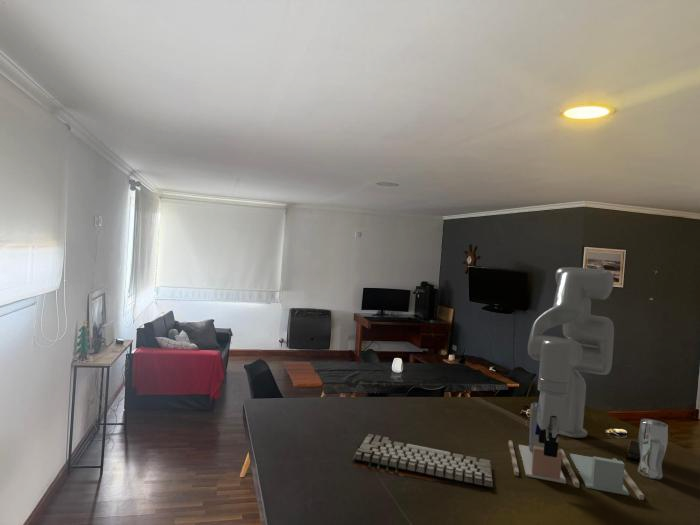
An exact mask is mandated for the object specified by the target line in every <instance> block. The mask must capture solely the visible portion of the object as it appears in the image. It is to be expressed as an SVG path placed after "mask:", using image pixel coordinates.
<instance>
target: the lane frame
mask: <svg viewBox="0 0 700 525" xmlns="http://www.w3.org/2000/svg"><path fill="white" fill-rule="evenodd" d="M508 448H509V449H508V450H509V453H511V454H510V458H512V459H511V463H512V464H511V465H512V467H513V468H512V469H513V473H514V476H515V477H519V476H520V471H519V470H520V469H519V465H518V463H517V462H518V461H517V457H516V452H515V449H514V444H513V440H512V439H511V440H510V439H509V440H508ZM558 450H560V451H561V452H562V459H563V460H562V463H563V464H564V466H566V467H565V469H566V468H567V469H566V471H567V470H568V471H567V473H568V472H569V473H568V475H569V477H570V479H571V481H572V484H573V487H574V488H578V489H579V488H580V485H581V484H580V481H579V479H578V477H577V475H576V473H575V471H574V469H573V468H572V465H571V463H570V461H569V459H568V458H567V455H566V454H565V451H564V449H563V448H558ZM612 460H618V459H617V458H616V457H612ZM623 480H625V482H626V483H627V485H628V486H629V487H630V488H631V490H632V492H633V493H634V494H635V496H636V497H637V498H638V499H639V500H640V501H641V500H642V501H644V500H645V494H644V493H643V492H642V491H641V489H640V488H639V487H638V485H637V484H636V482H635V481H634V480H633V479H632V477H631V476H630V475H629V474H628V472H627V470H626V469H625V468H624V478H623Z"/></svg>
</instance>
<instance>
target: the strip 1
mask: <svg viewBox="0 0 700 525" xmlns="http://www.w3.org/2000/svg"><path fill="white" fill-rule="evenodd" d="M518 449H519V453H520V457H522V458H521V461H523V462H522V465H523V469H524V473H525V476H526V477H530V478H533V479H534V478H535V479H540V480H545V481H552V482H555V483H561V484H567V480H566V477H565V475H564V473H563V471H562V469H561V468H562V461H563V460H562V452H561V451H560V450H559V449H558V451H557V457H550V456H545V455H544V448H543V447H537V446H533V454H532V453H531V452H530V450H529V445H524V444H523V445H522V444H518Z"/></svg>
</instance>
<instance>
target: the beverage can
mask: <svg viewBox="0 0 700 525" xmlns="http://www.w3.org/2000/svg"><path fill="white" fill-rule="evenodd" d="M538 404H539V402H532V403H530V412H529V413H530V414H529V444H528V446H529V450H530V452H531V453H532V454H533V446H537V447H543V448H544V443H539V441H538V440H539V429H540V427H539V425H538V423H537V411H538Z"/></svg>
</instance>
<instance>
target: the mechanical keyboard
mask: <svg viewBox="0 0 700 525" xmlns="http://www.w3.org/2000/svg"><path fill="white" fill-rule="evenodd" d="M351 463H352V464H355V465H354V466H355V467H357V468H361V469H362V468H363V469H366V470H367V469H368V470H372V471H376V472H377V471H378V472H382V473H387V474H391V475H396V476H402V477H405V476H406V477H411V478H416V479H421V480H425V481H430V482H437V483H450V484H454V485H461V486H465V487H469V488H470V487H471V488H475V489H480V490H485V491H492V492H494V491H495V490H494V477H493V472H492V463H491V460H490V459H485V458H479V459H478V458H477V457H475V456H470V455H466V456H465V458H464V455H463V454H460V453H455V452H453V453H452V454H451V452H450V451H447V450H446V451H445V450H441V449H436V448H432V447H427V446H421V445H416V444H412V443H411V444H410V443H407V444H406V445H405V443H404V442H399V441H394V442H392V440H390V438H389V436H388V437H387V436H383V437H382V436H381V435H378V434H376V435H374V434H372V433H368V434H367V436H366V437H365V439H364V440H363V442H362V441H361V442H360V443H359V445H358V446H357V450H356V451H355V454H354V456H353V460H352V461H351Z"/></svg>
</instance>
